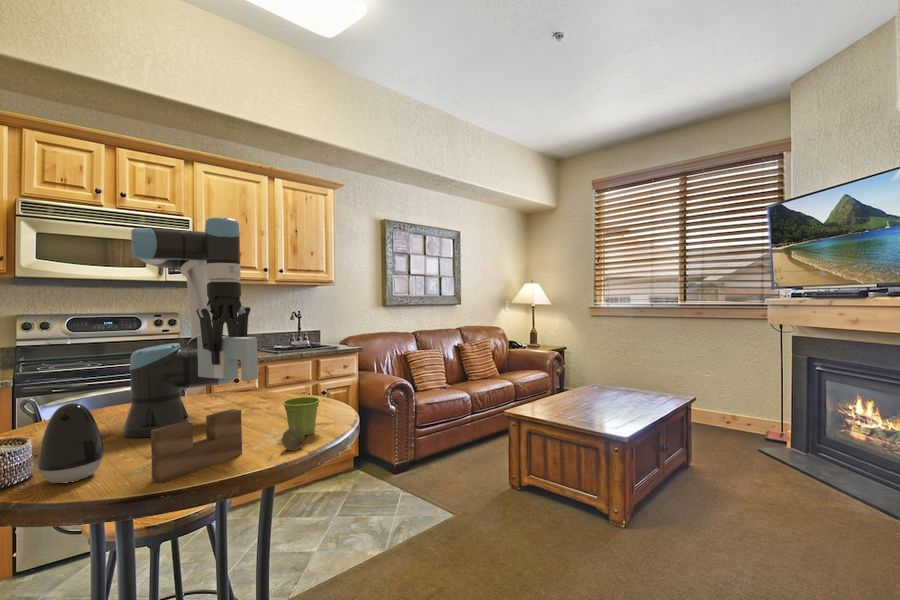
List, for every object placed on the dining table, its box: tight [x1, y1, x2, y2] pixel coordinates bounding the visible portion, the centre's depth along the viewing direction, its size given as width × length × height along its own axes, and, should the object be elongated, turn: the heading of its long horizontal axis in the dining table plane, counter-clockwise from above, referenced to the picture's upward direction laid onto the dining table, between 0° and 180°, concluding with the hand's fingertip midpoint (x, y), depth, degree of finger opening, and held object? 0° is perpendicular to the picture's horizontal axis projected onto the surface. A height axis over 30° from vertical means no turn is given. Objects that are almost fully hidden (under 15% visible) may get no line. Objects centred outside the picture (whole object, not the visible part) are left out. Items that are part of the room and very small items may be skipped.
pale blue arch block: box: [197, 336, 259, 382], centre depth 110 cm, size 18×3×10 cm, turn 63°
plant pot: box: [282, 396, 321, 436], centre depth 116 cm, size 9×9×9 cm
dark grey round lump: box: [281, 427, 306, 452], centre depth 104 cm, size 4×5×5 cm
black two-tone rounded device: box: [36, 402, 105, 484], centre depth 89 cm, size 10×10×15 cm
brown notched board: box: [150, 408, 243, 484], centre depth 95 cm, size 3×18×10 cm, turn 153°
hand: (226, 376), depth 110 cm, fingers closed on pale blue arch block, 3 cm apart
